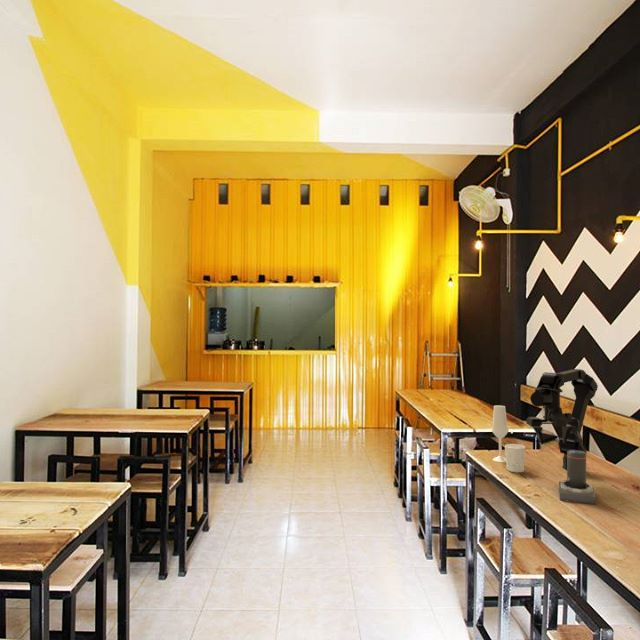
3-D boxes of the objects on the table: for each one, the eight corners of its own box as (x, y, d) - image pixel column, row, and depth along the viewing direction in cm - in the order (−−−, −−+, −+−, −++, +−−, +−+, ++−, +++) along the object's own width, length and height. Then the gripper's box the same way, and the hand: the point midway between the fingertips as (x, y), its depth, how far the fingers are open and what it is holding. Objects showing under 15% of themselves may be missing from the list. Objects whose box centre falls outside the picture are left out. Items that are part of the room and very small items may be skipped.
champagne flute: (506, 462, 216) (505, 408, 217) (490, 460, 220) (489, 406, 220) (510, 459, 222) (509, 405, 222) (494, 457, 226) (493, 404, 226)
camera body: (559, 488, 183) (558, 477, 183) (592, 492, 178) (592, 481, 178) (559, 500, 171) (559, 488, 171) (595, 504, 167) (595, 492, 167)
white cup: (528, 472, 202) (528, 448, 202) (509, 473, 202) (508, 448, 202) (521, 467, 210) (520, 443, 210) (502, 467, 210) (502, 443, 210)
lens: (575, 484, 179) (575, 448, 179) (590, 490, 173) (590, 452, 173) (563, 487, 177) (563, 450, 177) (577, 492, 171) (577, 454, 171)
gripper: (537, 407, 190) (537, 448, 190) (586, 407, 190) (586, 448, 190) (525, 403, 201) (526, 441, 201) (571, 402, 201) (572, 441, 201)
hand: (552, 443), depth 198 cm, fingers open, 9 cm apart
